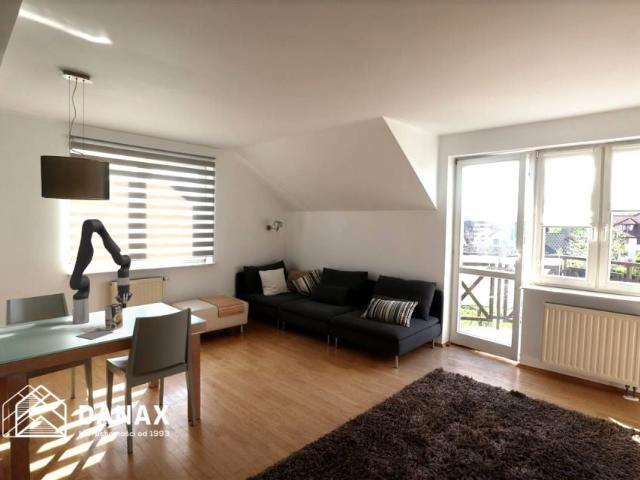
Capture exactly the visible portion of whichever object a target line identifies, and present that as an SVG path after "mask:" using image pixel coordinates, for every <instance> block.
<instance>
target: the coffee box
mask: <svg viewBox="0 0 640 480" xmlns="http://www.w3.org/2000/svg"><path fill="white" fill-rule="evenodd" d="M123 317H124V315H123V304H121V303H112V304H109V305H105V306H104V321H105V323H104V324H105V325H104V330H107V331H112V332H114V331H115V330H118V329H120V328H122V327H124V323H123V322H124V319H123Z"/></svg>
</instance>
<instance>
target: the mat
mask: <svg viewBox="0 0 640 480" xmlns="http://www.w3.org/2000/svg"><path fill="white" fill-rule="evenodd" d="M114 332H115V331H111V330H105V329H101V328H98V329H94V330H91V331H87V332H85V333H82V334H78V335H76V337H77V338H81V339H85V340H91V341H92V340H95V339H100V338H101V337H104V336H107V335H111V334H113V333H114Z"/></svg>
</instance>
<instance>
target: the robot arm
mask: <svg viewBox="0 0 640 480" xmlns="http://www.w3.org/2000/svg"><path fill="white" fill-rule="evenodd" d="M80 233H81V235H80V241H79V246H78V250H77V255H76V258H75V263H74V267H73V270H72V273H71V276H70V279H69V281H68V282H69V285H68V286H69V287H70V289H71V290H72V291H76V293H74V294H73V295H72V311H71V312H72V323H73V324H74V325H82V324H87V323H89V322H90V303H89V302H90V301H89V298H90V297H89V296H90V291H91V281H90V278H89V276H87V275H84V272H85V270H86V269H87V268H88V266H89V265H90V264H91V262H92V261H93V257H94V253H95V251H94V246H93V242H92V238H93V234H94V233H96V234H98V236H99V237H100V238H101V240H102V244H103V246H104V248H105V250H106V252H108V253H109V254H110V256H111V258H112V260H113V262H114V263H115V265H117V266H120V268H118V270H117V272H116V273H117V278H116V279H117V281H116V286H117V295H116V296H114V299H115V300H116V301H117V303H118V304H123V309H126V308H127V302H129V301H130V300H131V299H132V296H133V293H131V292H130V290H131V288H130V287H131V286H130V269H131V264H132V259H131V257H130V255H128V254H121V251H122V250H121V248H120V247H119V245H118V244H117V243H116V242H115V241H114V239H113V237H111V235H110V234H109V232H108V230H107V229H106V227H105V226H104V224H103V222H102V221H101V220H100V219H98V218H97V219H96V218H90V219H89V218H88V219H85V220H84V221H83V222H82V224H81V232H80Z"/></svg>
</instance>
